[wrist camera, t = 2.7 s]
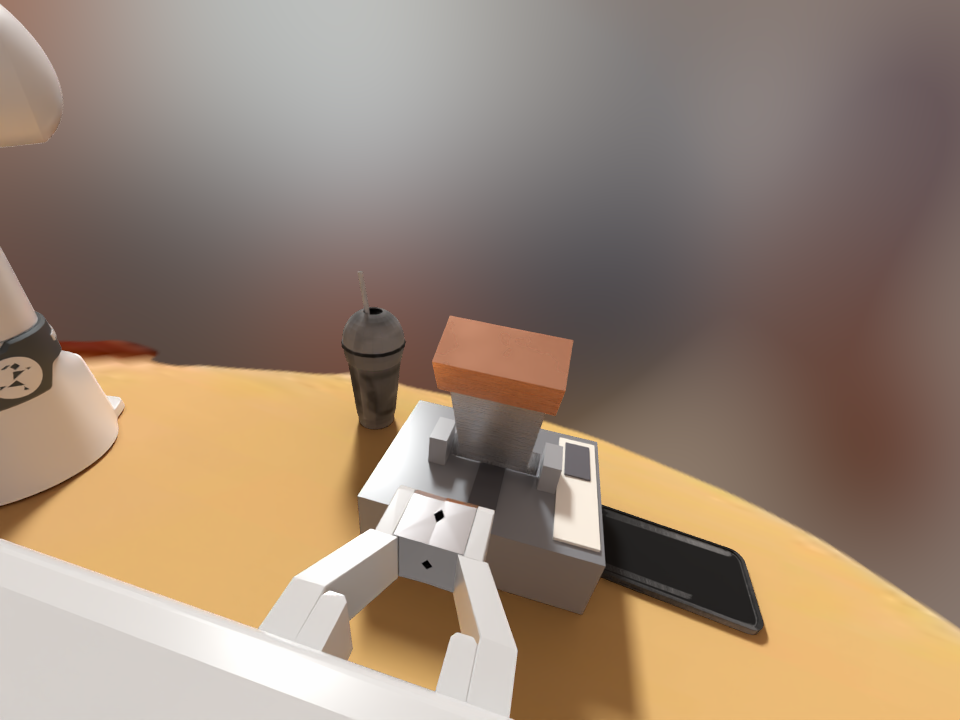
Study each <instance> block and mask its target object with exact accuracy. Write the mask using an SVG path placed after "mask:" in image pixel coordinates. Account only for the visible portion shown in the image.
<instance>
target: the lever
mask: <svg viewBox="0 0 960 720" xmlns="http://www.w3.org/2000/svg"><path fill="white" fill-rule="evenodd" d="M572 344H573V340H569V339H564V338H559V337H554V336H549V335H543V334H539V333H534V332H529V331H524V330H519V329H514V328H509V327H504V326H499V325H494V324H489V323H484V322H479V321H474V320H469V319H464V318H459V317H454V316H450V317H449V320H448V322H447V325H446V327H445V330H444V332H443V335H442V338H441V340H440V343H439V346H438V348H437V351H436V353H435V356H434V358H433V361H432V363H433V368H434V373H435V377H436V382H437V386H438V389H442V390H446V391H450V392H451V398H452V404H453V410H454V416H455V423H456V429H457V433H455V435H454V438H453V441H452V445H451V450H450V454H452V455H456V456H460V457H464V458H468V459H472V460H475V461H479V462H483V463H487V464H491V465H495V466H499V467H503V468H507V469H511V470H515V471H518V472H522V473H526V474H530V475H534V476H536V474H537V471H538V466H539V461H540V454H539V453H535V452H532V451H533V448H534V445H535V442H536V439H537V436H538V433H539V430H540V427H541V425H542V422H543V419H544V416H545V413H546V414H550V415H554V416H555V415H556V413H557V411H558V408H559V406H560V403H561V401H562V398H563V396H564V393H565V390H566V384H567V377H568V371H569V363H570V358H571V351H572Z"/></svg>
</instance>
